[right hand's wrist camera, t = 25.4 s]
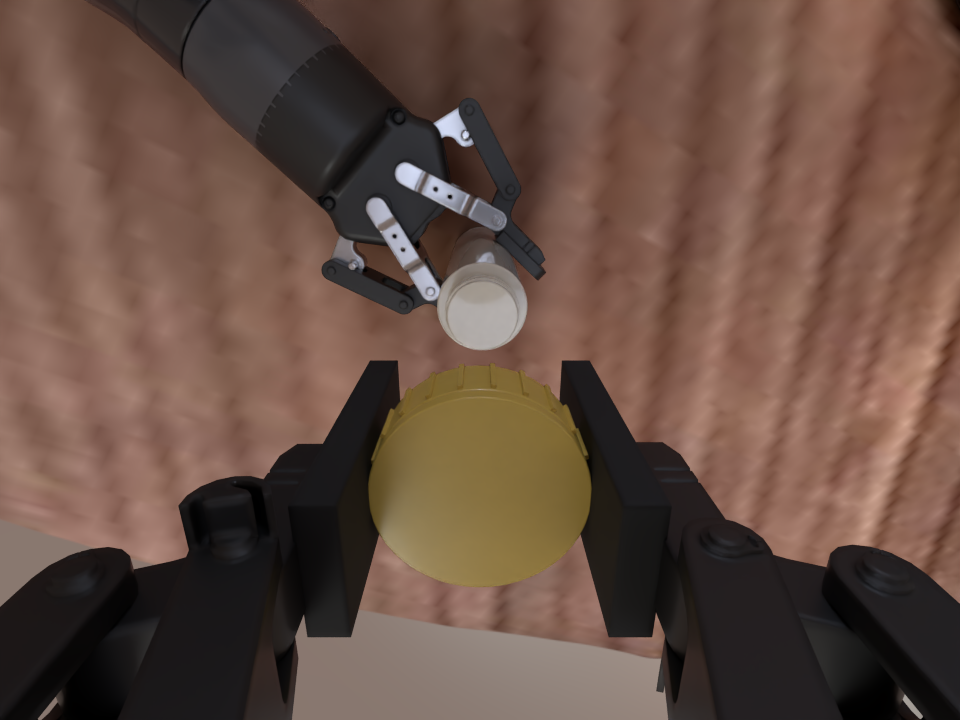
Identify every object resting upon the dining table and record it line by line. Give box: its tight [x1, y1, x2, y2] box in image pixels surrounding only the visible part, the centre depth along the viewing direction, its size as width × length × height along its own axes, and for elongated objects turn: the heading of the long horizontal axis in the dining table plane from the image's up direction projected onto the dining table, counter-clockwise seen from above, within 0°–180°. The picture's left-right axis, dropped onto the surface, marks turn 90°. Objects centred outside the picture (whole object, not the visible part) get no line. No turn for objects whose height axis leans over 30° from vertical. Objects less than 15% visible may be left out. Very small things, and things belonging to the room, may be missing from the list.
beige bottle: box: [437, 227, 528, 350], centre depth 31 cm, size 4×4×17 cm
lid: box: [368, 363, 592, 587], centre depth 11 cm, size 5×5×2 cm
